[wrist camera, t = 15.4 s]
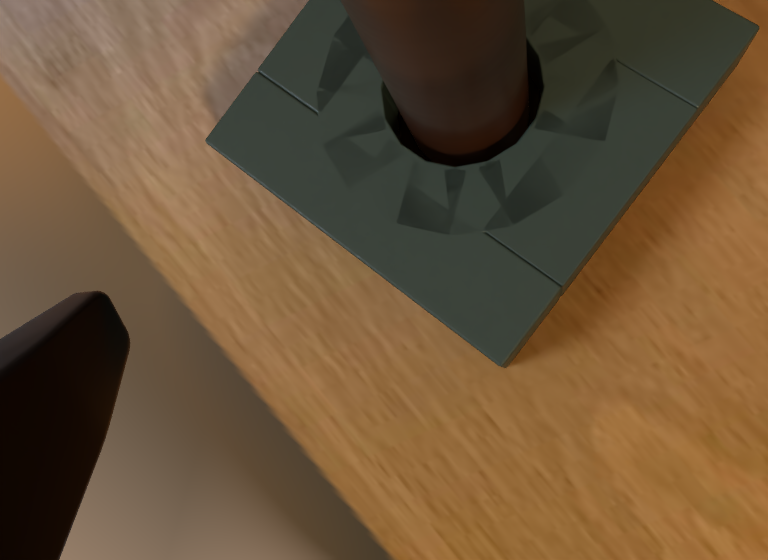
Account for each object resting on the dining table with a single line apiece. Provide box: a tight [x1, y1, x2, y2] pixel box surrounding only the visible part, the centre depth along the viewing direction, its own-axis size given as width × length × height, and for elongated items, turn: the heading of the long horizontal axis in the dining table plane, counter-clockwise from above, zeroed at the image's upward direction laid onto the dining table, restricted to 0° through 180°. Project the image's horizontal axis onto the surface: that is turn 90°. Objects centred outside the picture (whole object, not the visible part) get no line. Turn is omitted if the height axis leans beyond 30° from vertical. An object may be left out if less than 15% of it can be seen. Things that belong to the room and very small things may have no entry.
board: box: [206, 0, 759, 368], centre depth 23 cm, size 12×12×2 cm
